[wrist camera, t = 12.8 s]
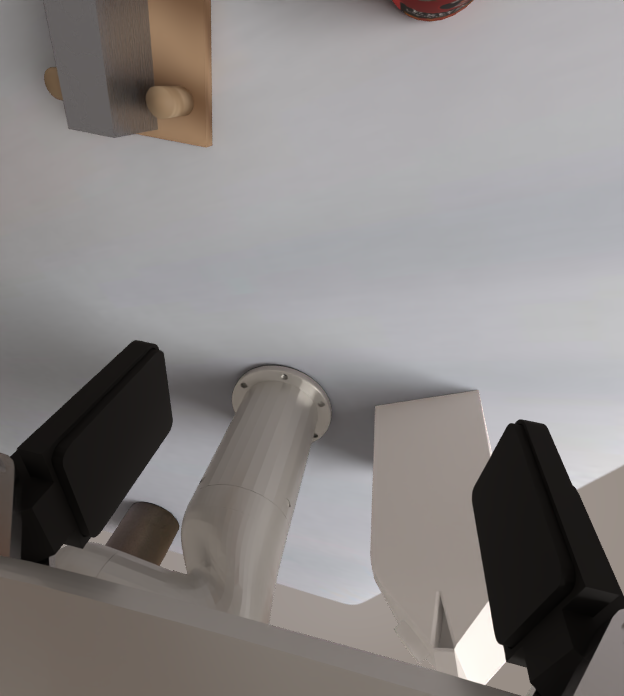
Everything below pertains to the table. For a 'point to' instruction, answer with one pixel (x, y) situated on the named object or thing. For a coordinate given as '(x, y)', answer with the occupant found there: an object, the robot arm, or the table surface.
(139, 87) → the steel bar
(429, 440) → the milk
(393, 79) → the table surface
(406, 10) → the canned food
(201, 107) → the rack
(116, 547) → the pillar candle
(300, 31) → the table surface
